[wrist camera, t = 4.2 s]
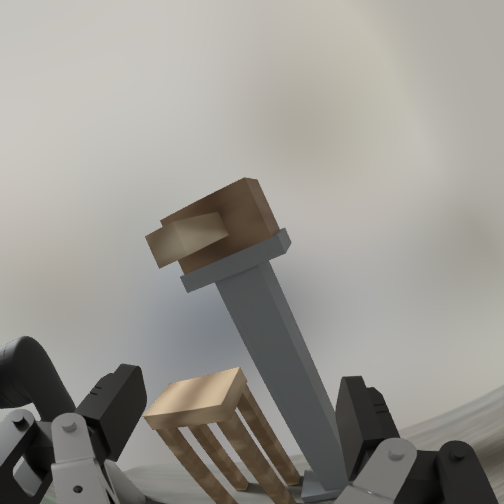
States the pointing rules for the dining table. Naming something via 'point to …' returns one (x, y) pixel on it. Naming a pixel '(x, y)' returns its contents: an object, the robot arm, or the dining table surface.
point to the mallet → (214, 227)
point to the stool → (223, 413)
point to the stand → (280, 358)
